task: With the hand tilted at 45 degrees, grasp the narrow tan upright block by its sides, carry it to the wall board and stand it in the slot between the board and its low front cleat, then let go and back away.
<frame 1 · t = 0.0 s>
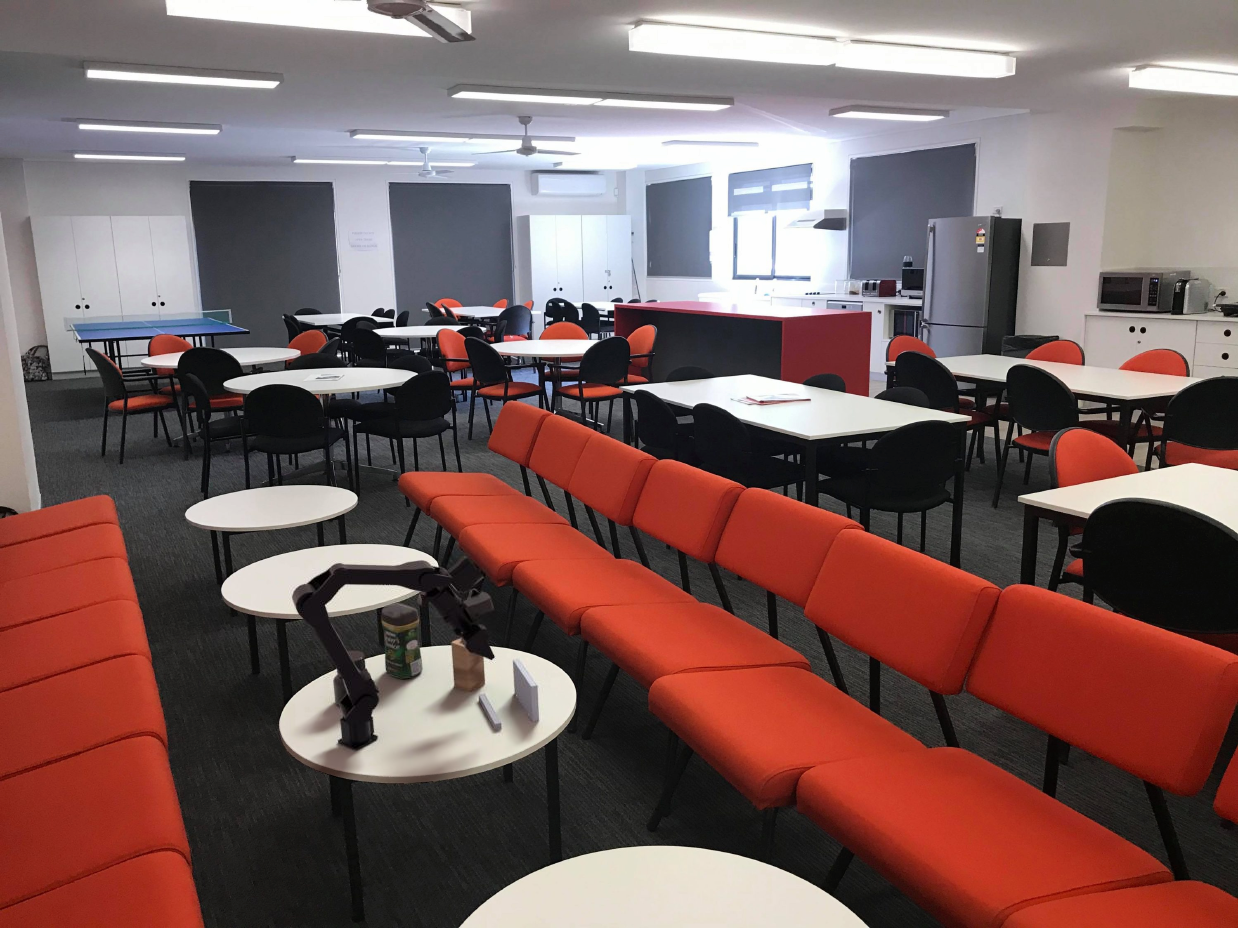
hand: (486, 651, 221), 15 cm above the table, tool tilted 35°, fingers open, 9 cm apart
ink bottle: (354, 702, 229), on the table
wall dock: (508, 710, 223), on the table
coffee jar: (404, 673, 245), on the table
tan upright block: (469, 685, 237), on the table
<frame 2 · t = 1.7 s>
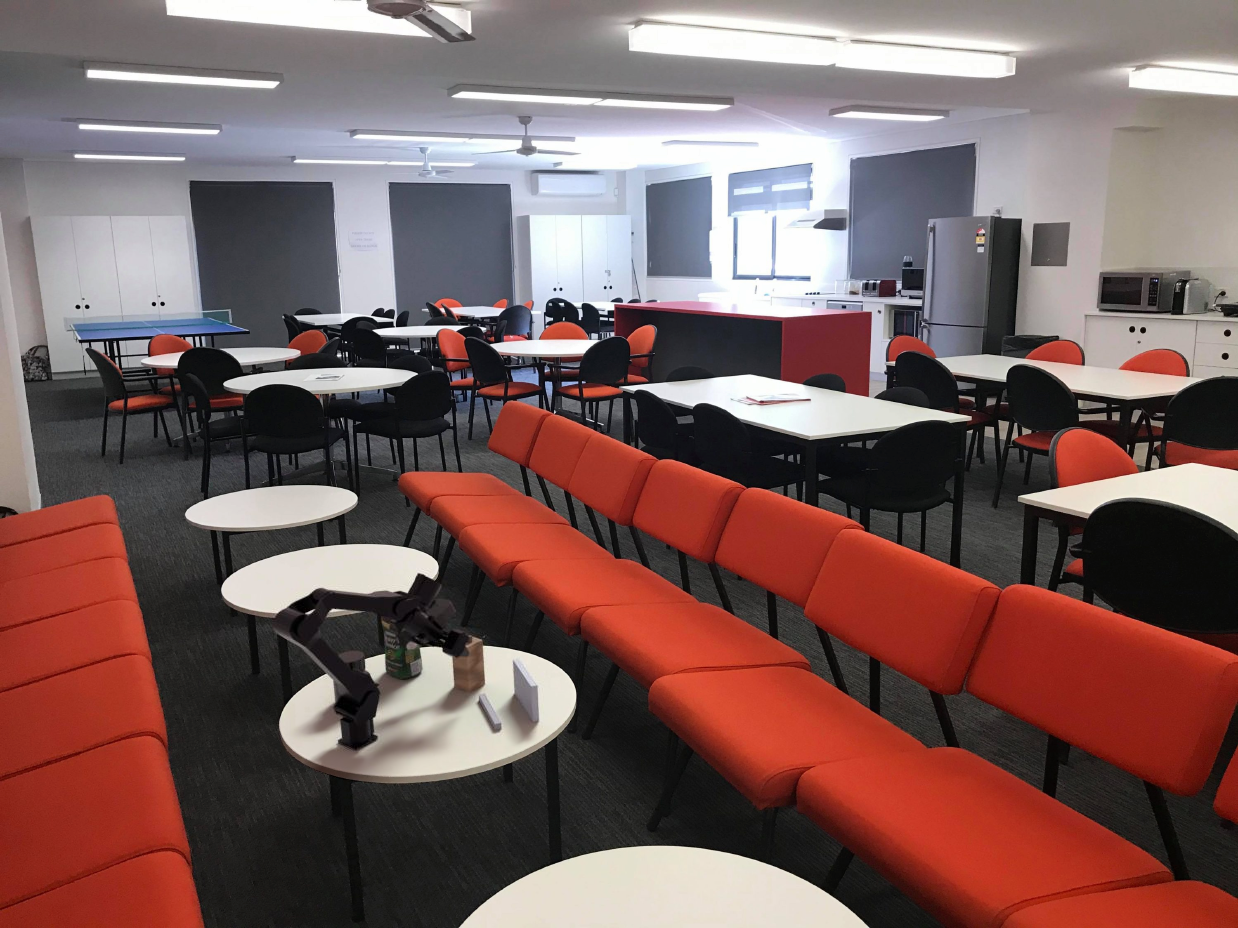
hand: (455, 650, 231), 11 cm above the table, tool tilted 45°, fingers open, 9 cm apart
nothing on the table moved.
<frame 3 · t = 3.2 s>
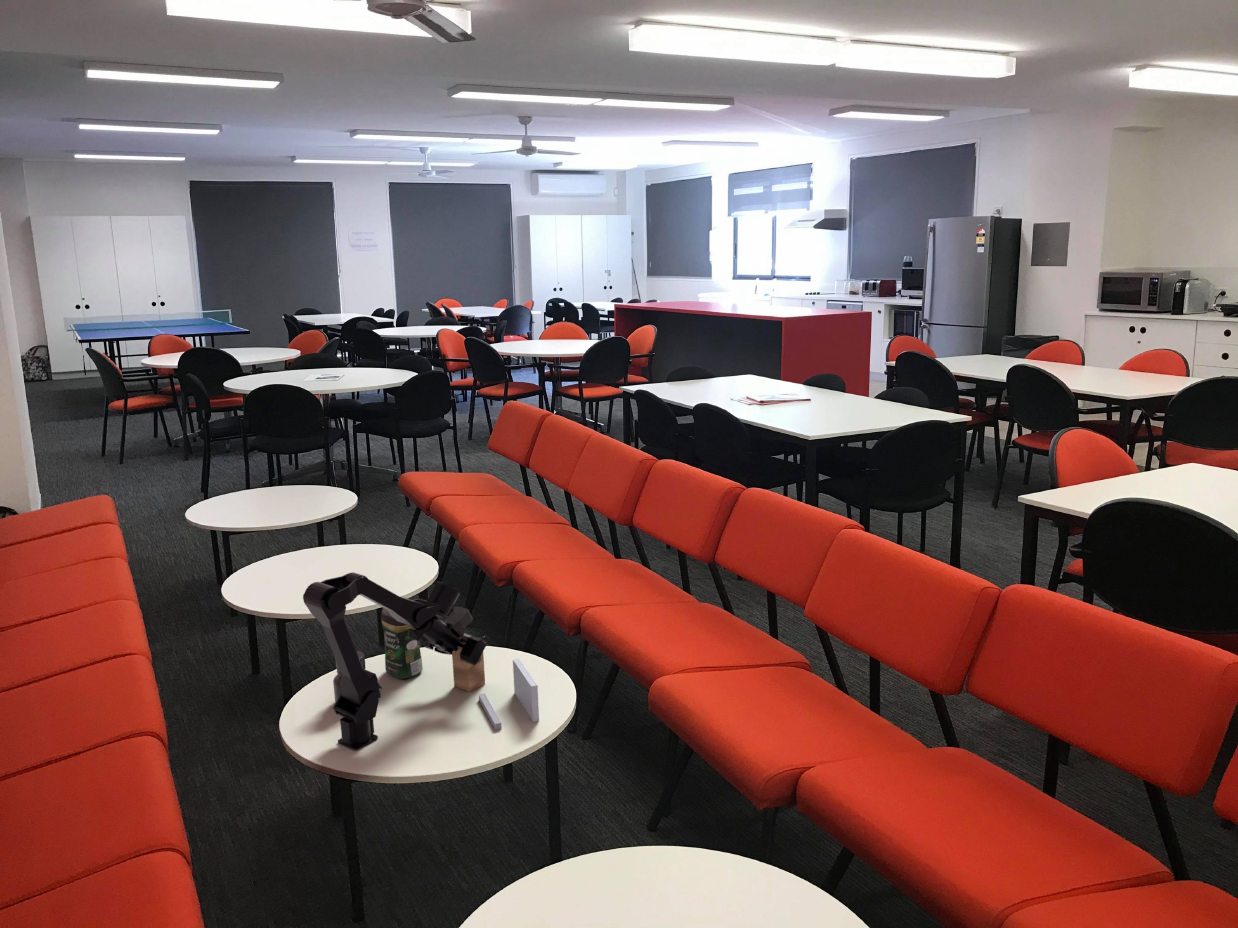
hand: (472, 657, 236), 7 cm above the table, tool tilted 45°, fingers closed on tan upright block, 5 cm apart
tan upright block: (469, 684, 237), on the table, touching gripper
everything else where it was.
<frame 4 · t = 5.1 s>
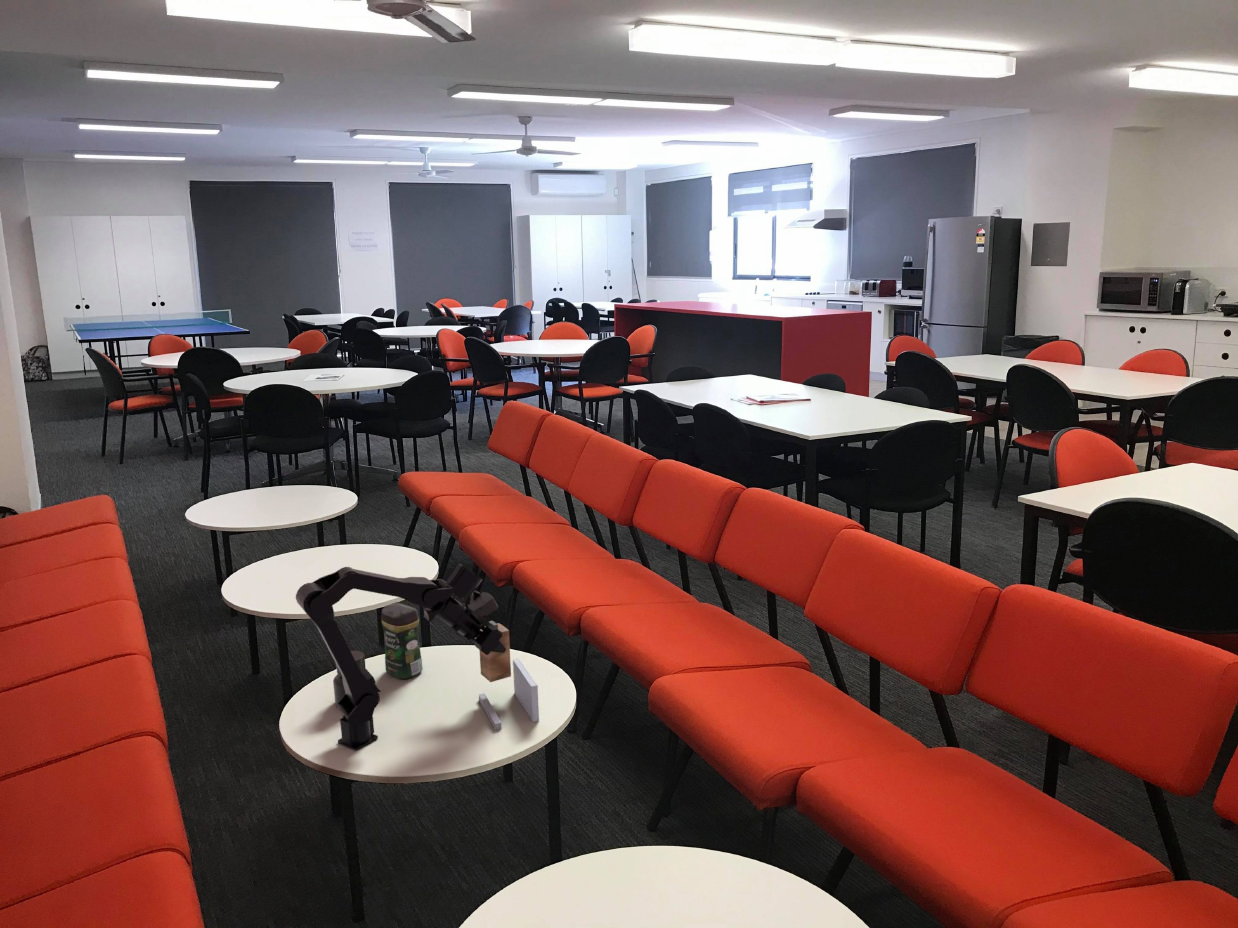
hand: (499, 646, 226), 13 cm above the table, tool tilted 45°, fingers closed on tan upright block, 5 cm apart
tan upright block: (495, 675, 227), point 6 cm above the table, touching gripper
everything else where it was.
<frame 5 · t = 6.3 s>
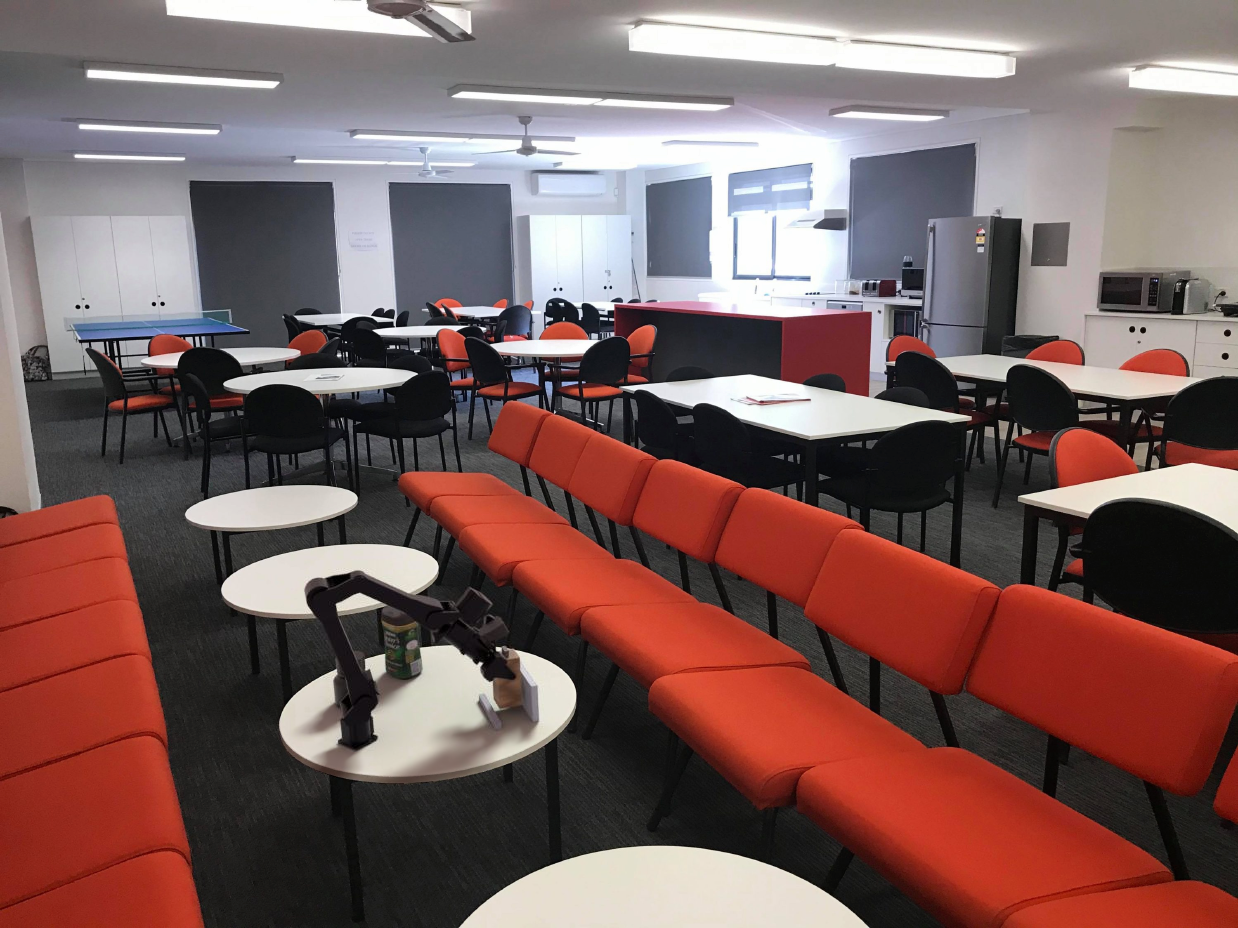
hand: (511, 673, 221), 9 cm above the table, tool tilted 45°, fingers closed on tan upright block, 5 cm apart
tan upright block: (507, 701, 223), point 2 cm above the table, touching gripper
everything else where it was.
when the fingers open (8 cm above the table, at t = 7.0 s): tan upright block stays where it is, on the table.
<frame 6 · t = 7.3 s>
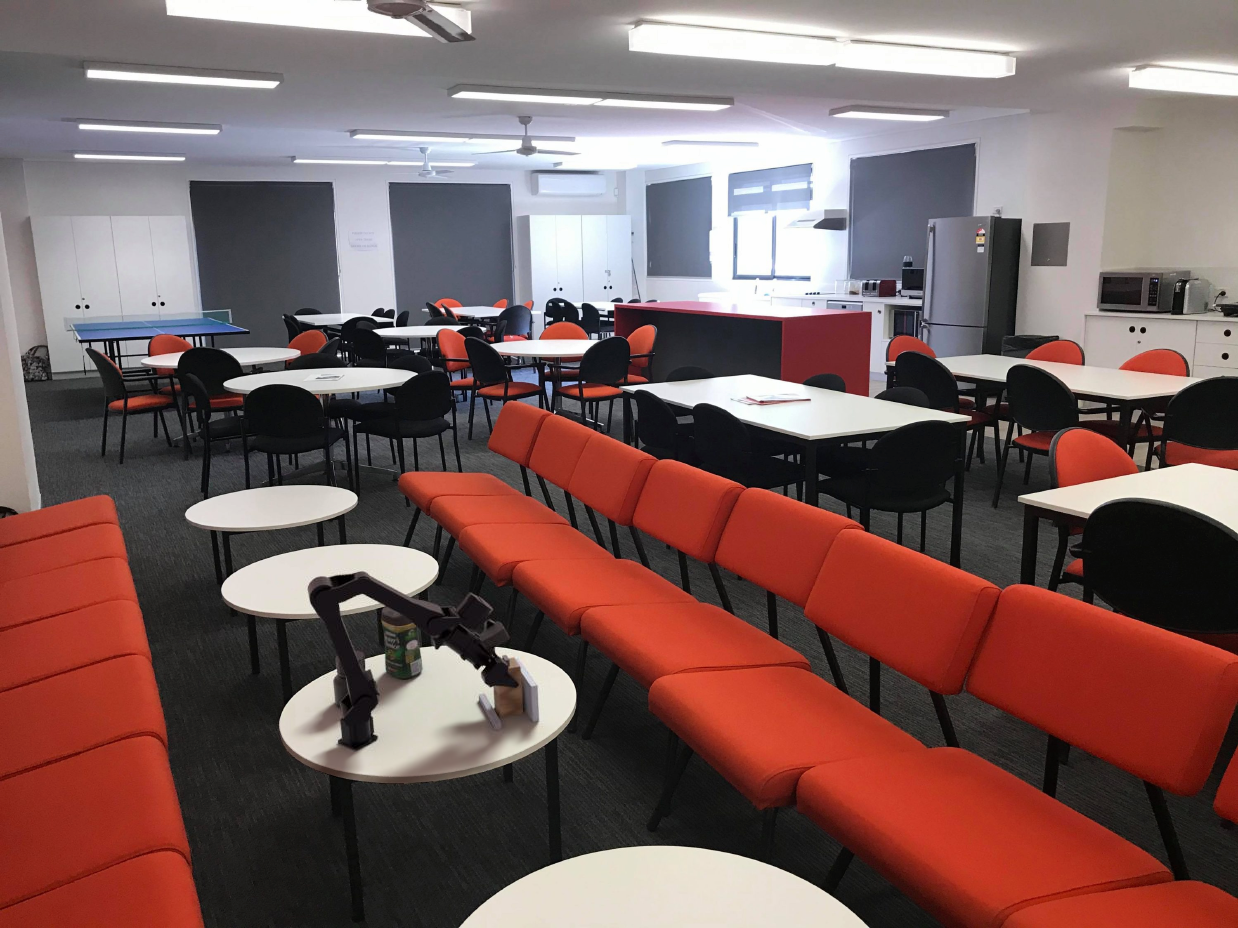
hand: (512, 677, 222), 8 cm above the table, tool tilted 45°, fingers open, 9 cm apart
tan upright block: (508, 710, 223), on the table
everything else where it was.
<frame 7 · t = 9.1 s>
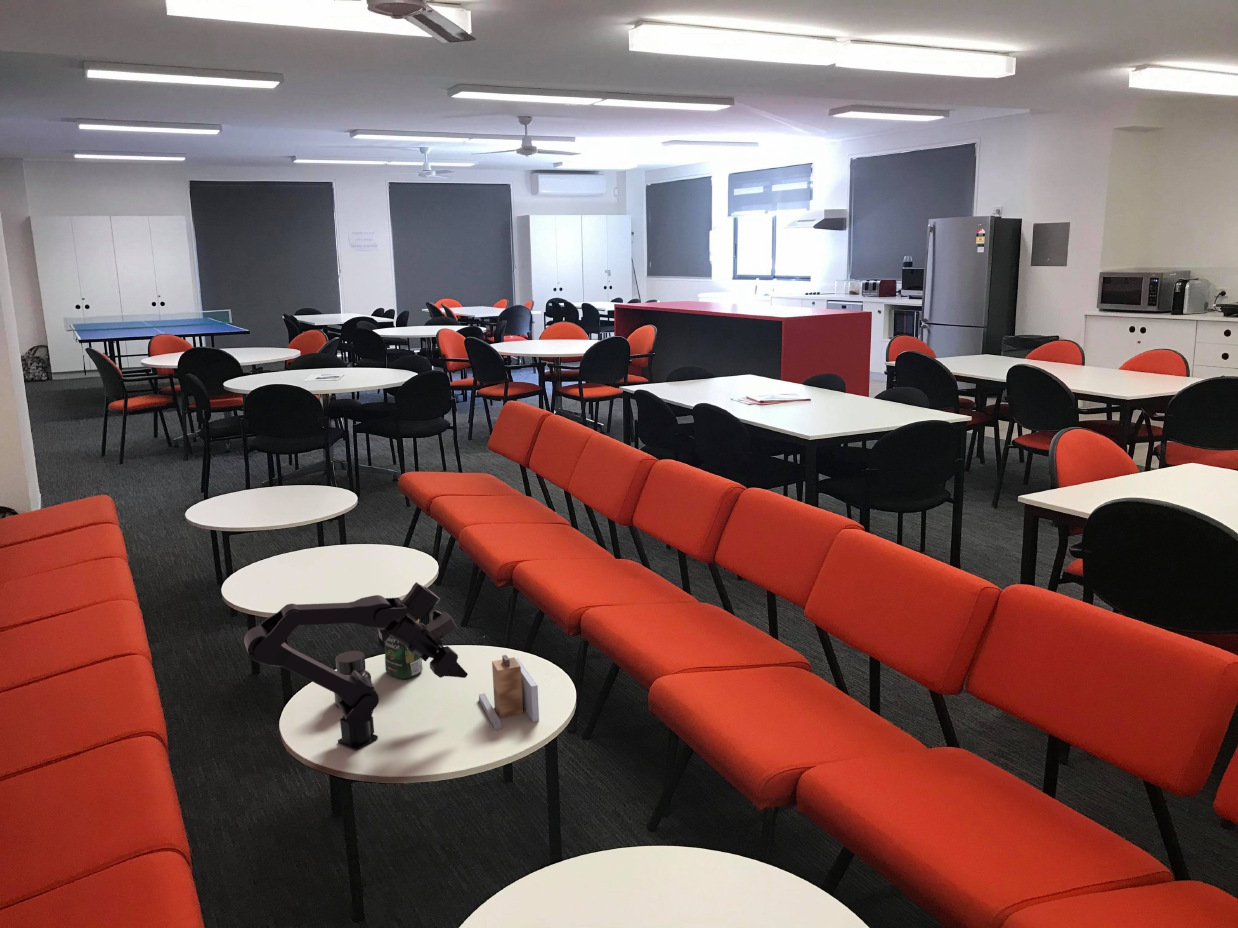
hand: (460, 668, 219), 12 cm above the table, tool tilted 45°, fingers open, 9 cm apart
nothing on the table moved.
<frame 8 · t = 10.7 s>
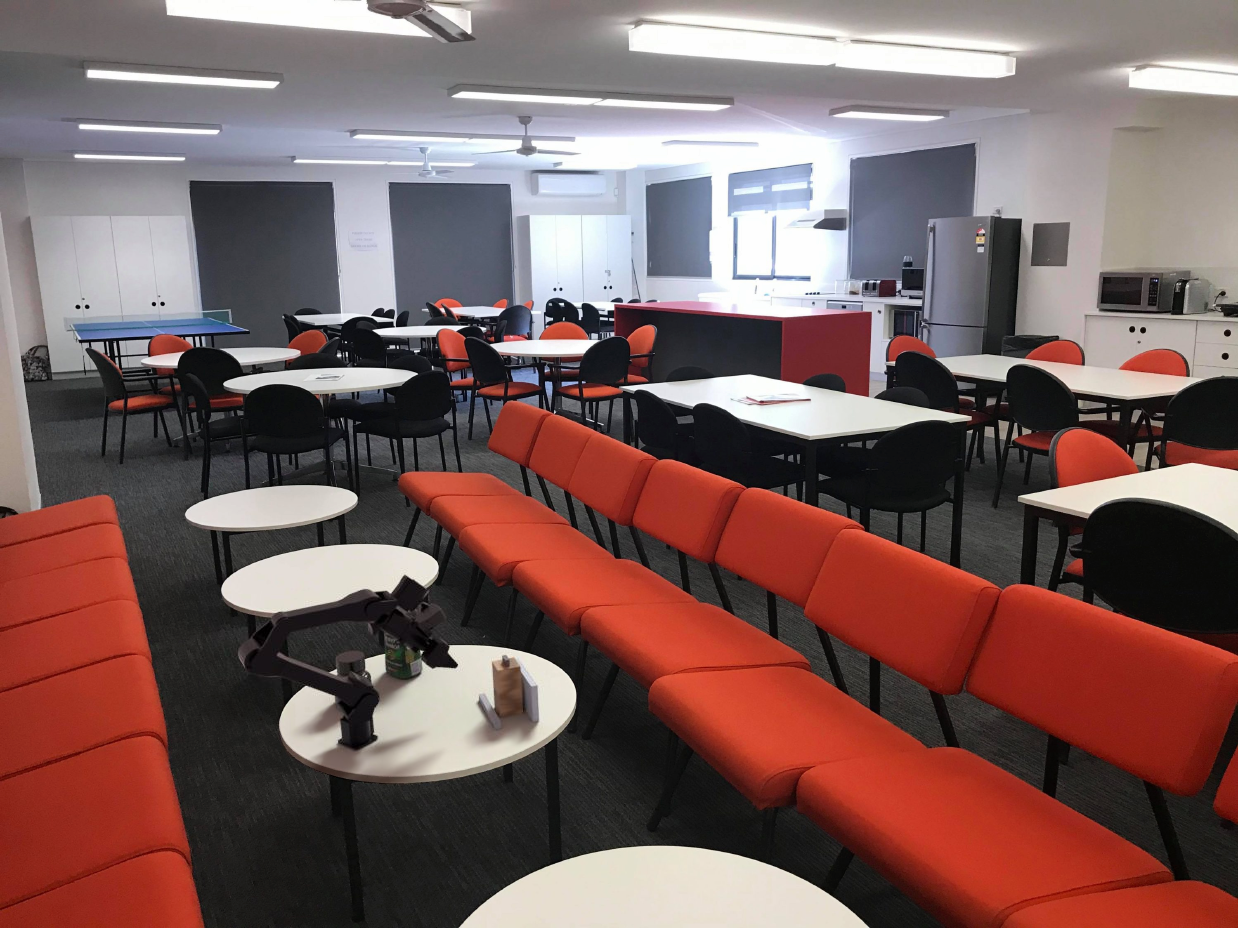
hand: (449, 659, 220), 14 cm above the table, tool tilted 45°, fingers open, 9 cm apart
nothing on the table moved.
at the end: tan upright block inside the target area on the wall dock (0.1 cm from its centre), point 0.0 cm above the wall dock's base; tan upright block tilted 0°; the gripper is holding nothing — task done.
